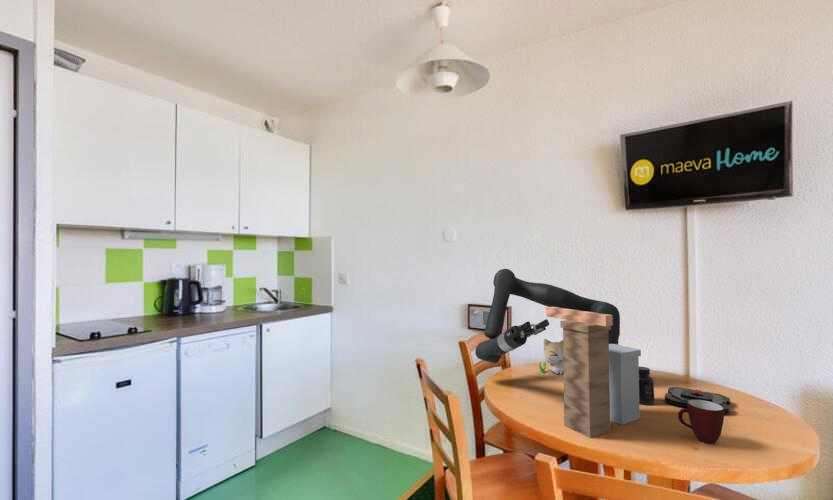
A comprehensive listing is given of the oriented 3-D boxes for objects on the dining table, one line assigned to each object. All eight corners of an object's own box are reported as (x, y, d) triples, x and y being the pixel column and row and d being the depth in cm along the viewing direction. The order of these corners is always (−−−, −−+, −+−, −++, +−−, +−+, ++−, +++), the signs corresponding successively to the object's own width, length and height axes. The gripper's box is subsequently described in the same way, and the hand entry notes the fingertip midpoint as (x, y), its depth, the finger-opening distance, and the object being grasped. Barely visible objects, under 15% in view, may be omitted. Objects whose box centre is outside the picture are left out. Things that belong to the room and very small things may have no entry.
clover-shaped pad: (663, 405, 132) (662, 392, 132) (669, 391, 146) (669, 379, 146) (729, 419, 120) (729, 405, 120) (730, 402, 134) (729, 389, 134)
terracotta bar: (546, 316, 126) (546, 307, 126) (552, 315, 128) (552, 306, 128) (605, 326, 107) (605, 315, 107) (612, 325, 108) (612, 315, 108)
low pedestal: (593, 413, 124) (592, 346, 125) (613, 408, 129) (611, 343, 129) (622, 425, 115) (621, 353, 116) (642, 419, 120) (640, 349, 121)
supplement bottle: (652, 400, 136) (652, 366, 136) (655, 406, 130) (655, 371, 130) (631, 397, 139) (630, 364, 139) (632, 403, 133) (632, 369, 133)
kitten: (543, 375, 165) (542, 341, 165) (535, 369, 175) (535, 336, 175) (576, 375, 165) (576, 341, 166) (567, 369, 175) (567, 336, 176)
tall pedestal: (561, 425, 116) (560, 320, 117) (583, 418, 121) (582, 318, 121) (590, 438, 107) (588, 325, 108) (612, 431, 112) (610, 322, 112)
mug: (675, 438, 107) (674, 403, 107) (680, 429, 113) (679, 395, 113) (723, 451, 100) (722, 413, 100) (725, 440, 106) (724, 404, 106)
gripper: (493, 331, 142) (519, 314, 129) (522, 327, 148) (549, 311, 136) (500, 350, 138) (527, 335, 126) (529, 346, 145) (558, 331, 133)
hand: (539, 322), depth 131 cm, fingers open, 8 cm apart
